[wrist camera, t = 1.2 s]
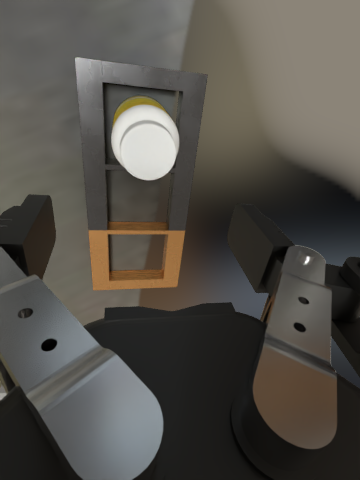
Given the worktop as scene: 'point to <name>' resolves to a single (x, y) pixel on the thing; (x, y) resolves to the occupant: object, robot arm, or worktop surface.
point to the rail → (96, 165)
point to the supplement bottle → (144, 138)
